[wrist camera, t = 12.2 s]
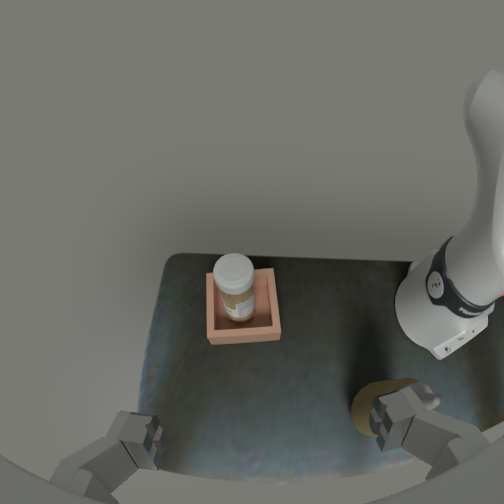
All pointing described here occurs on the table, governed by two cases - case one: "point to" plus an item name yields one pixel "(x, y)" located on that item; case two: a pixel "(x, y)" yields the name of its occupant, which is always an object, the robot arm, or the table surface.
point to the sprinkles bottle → (236, 287)
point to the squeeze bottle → (370, 391)
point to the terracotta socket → (259, 327)
